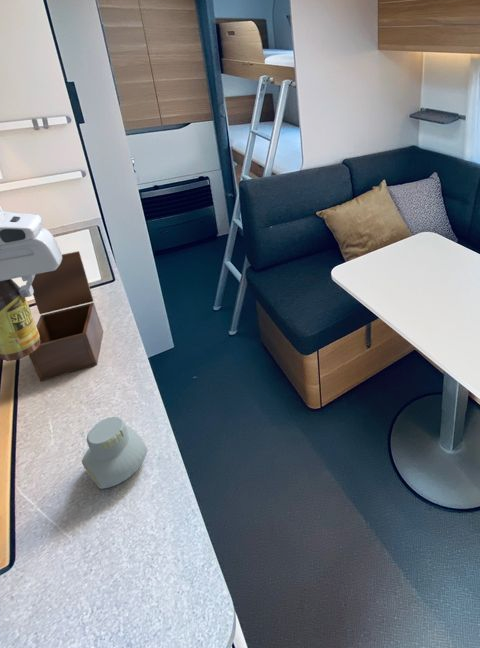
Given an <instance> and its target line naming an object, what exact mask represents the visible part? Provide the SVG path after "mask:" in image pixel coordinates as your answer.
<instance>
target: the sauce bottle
mask: <svg viewBox="0 0 480 648" xmlns="http://www.w3.org/2000/svg"><path fill="white" fill-rule="evenodd" d="M20 287H21V286H19V285H18V284H17V283H16V282H15V281H14V280H13V279H9V280H4V281H0V358H1V360H3V361H4V362H5V361H6V362H12V361H18V360H22V359H24V358H25V357H29V354H31V353H33V352H34V351H35V350H36V349H38V347H39V346H40V338H39V337H40V335H39V332H38V330H37V327H36V326H37V323H36V322H35V319H34V317H33V313H32V311H31V307H30V305H29V302H28V300H27V297H25V298H21V295H20V294H19V289H21V288H20Z"/></svg>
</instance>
